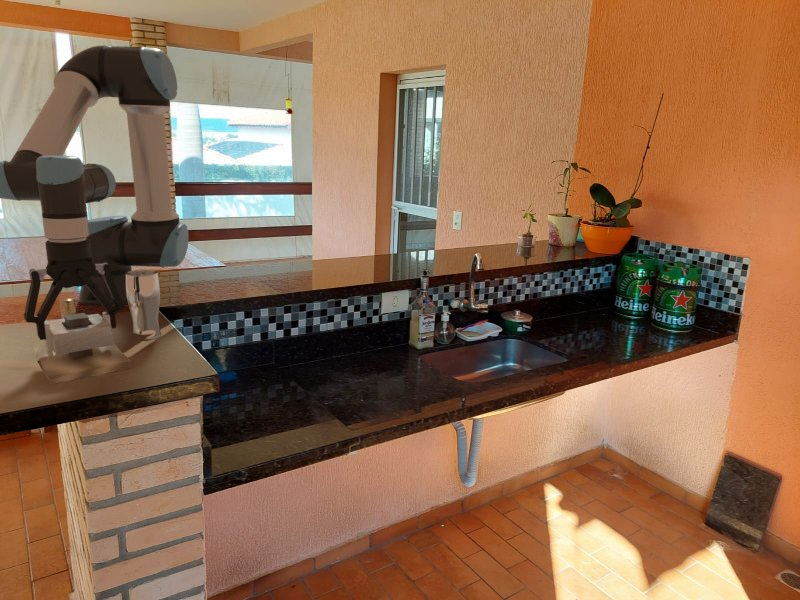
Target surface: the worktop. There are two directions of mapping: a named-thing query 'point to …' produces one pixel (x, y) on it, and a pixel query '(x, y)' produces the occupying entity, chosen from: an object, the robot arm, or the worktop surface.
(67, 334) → the white square frame
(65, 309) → the stand
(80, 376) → the hub base
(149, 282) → the beer glass
